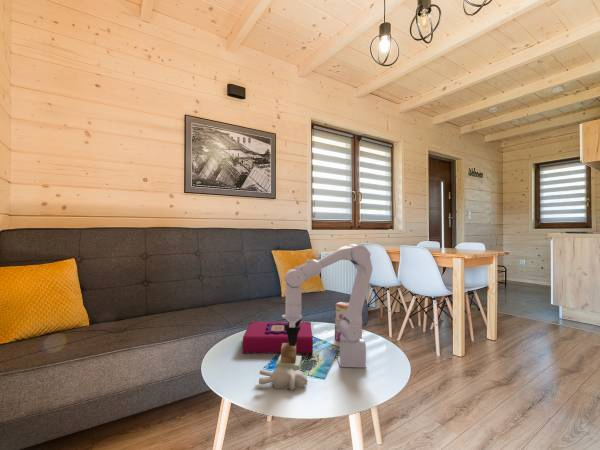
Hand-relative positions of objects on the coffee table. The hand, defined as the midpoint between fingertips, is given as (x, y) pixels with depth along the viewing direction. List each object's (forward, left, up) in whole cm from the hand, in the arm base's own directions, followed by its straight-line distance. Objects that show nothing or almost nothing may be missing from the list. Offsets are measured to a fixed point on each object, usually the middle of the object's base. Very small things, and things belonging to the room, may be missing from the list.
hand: (293, 341), depth 111 cm
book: (+7, -21, -10) cm, 25 cm away
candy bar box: (-23, -27, -10) cm, 36 cm away
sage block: (+1, +1, -10) cm, 10 cm away
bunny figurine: (+2, +13, -10) cm, 16 cm away
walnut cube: (+2, +1, -6) cm, 6 cm away
